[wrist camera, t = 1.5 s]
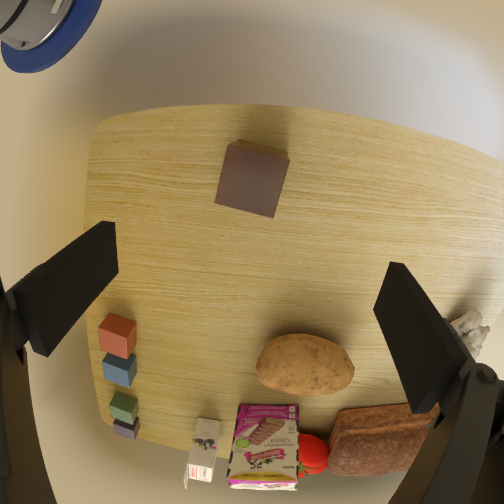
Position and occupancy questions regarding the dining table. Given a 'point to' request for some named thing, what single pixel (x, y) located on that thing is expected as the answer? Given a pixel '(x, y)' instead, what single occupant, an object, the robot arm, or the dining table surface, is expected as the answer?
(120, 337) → the block
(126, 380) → the block
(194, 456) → the ink box
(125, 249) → the dining table surface
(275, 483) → the candy bar box
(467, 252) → the dining table surface
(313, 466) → the tomato
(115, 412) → the block
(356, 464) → the bread
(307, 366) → the potato
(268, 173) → the walnut block
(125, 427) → the block
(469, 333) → the figurine
